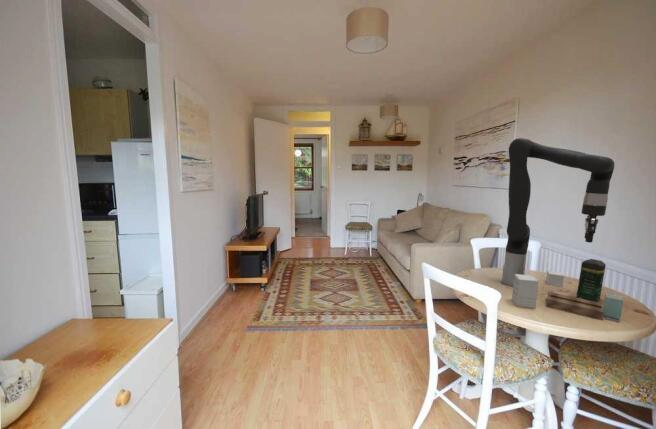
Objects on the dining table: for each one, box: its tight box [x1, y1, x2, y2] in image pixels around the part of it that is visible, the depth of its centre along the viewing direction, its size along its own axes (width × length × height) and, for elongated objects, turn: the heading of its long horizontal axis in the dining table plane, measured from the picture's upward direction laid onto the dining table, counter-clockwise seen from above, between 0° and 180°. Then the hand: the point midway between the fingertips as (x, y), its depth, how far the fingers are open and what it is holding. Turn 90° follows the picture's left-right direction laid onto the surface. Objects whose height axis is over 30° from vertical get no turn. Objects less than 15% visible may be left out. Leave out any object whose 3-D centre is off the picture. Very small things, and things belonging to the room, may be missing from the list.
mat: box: [603, 315, 620, 323], centre depth 115 cm, size 4×6×1 cm
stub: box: [602, 293, 625, 320], centre depth 114 cm, size 5×2×9 cm, turn 50°
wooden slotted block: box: [545, 291, 604, 321], centre depth 122 cm, size 18×11×4 cm, turn 50°
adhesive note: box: [545, 270, 564, 288], centre depth 150 cm, size 6×6×6 cm
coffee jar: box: [576, 258, 607, 302], centre depth 132 cm, size 10×8×19 cm
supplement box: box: [511, 274, 539, 309], centre depth 125 cm, size 7×7×13 cm
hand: (588, 240), depth 124 cm, fingers open, 8 cm apart
